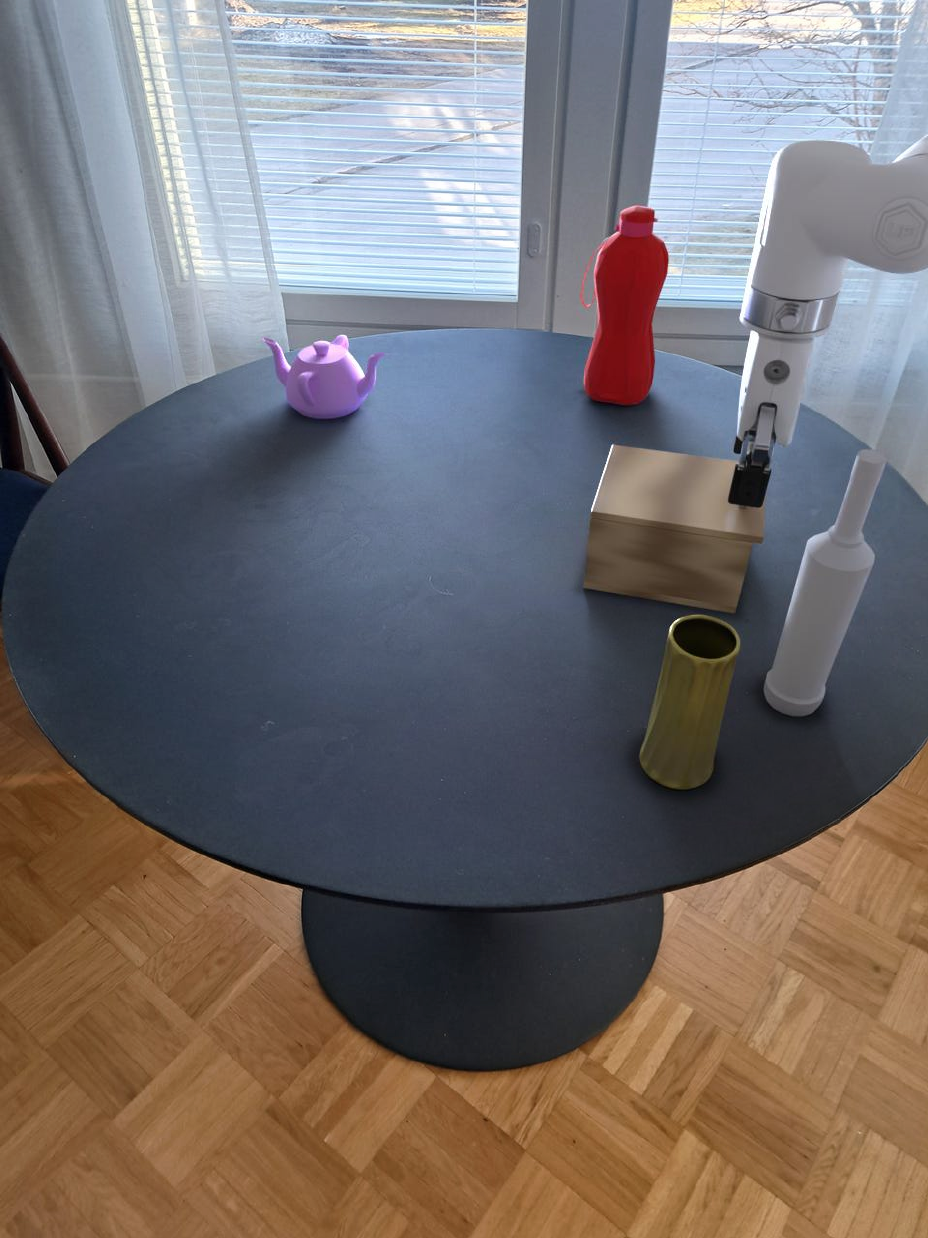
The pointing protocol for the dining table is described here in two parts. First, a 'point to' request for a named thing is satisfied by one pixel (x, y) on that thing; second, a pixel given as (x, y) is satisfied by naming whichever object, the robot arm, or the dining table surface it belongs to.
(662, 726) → the vase
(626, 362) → the water bottle
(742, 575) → the box
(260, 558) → the dining table surface
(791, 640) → the bottle
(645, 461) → the lid
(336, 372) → the teapot
